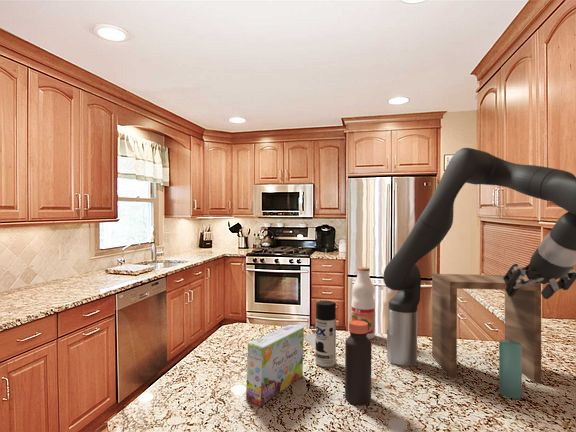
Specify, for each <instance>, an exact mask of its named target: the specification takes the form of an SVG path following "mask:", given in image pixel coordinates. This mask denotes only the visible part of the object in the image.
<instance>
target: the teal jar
mask: <svg viewBox="0 0 576 432" xmlns="http://www.w3.org/2000/svg"><path fill="white" fill-rule="evenodd" d="M498 345H499V346H498V349H499V350H498V351H499V352H498V356H499V357H498V358H499V361H498V368H499V369H498V375H499V376H498V377H499V378H498V381H499V384H498V386H499V388H498V389H499V392H500V393H499V394H500V395H501V394H502V395H501V396H503V397H505V396H506V397H505V398H508V397H509V398H508V399H511V398H513V399H512V400H521V399H522V398H523V395H522V394H523V374H522V344H521V343H519V342H516V341H512V340H505V339H499V342H498Z"/></svg>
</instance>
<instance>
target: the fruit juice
mask: <svg viewBox="0 0 576 432" xmlns="http://www.w3.org/2000/svg"><path fill="white" fill-rule="evenodd" d="M351 291H352V299H351V321H354V320H359V321H364V322H367V323H368V334H367V338H368V339H369V340H372V339H374V338H375V335H376V302H375V301H376V300H375V298H374V295H375V292H376V290H375V286H374V284H373V282H372V279H371V276H370V267H368V266H367V267H366V266H359V267H357V276H356V279H355V281H354V283H353V285H352V287H351Z"/></svg>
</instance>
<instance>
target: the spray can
mask: <svg viewBox="0 0 576 432" xmlns="http://www.w3.org/2000/svg"><path fill="white" fill-rule="evenodd" d="M315 328H316V349H315V354H314V355H315V364H316V366H319V367H321V368H333V367H335V365H336V358H337V357H336V349H337V348H336V347H337V346H336V344H337V343H336V341H337V303H336V302H335V301H333V300H332V301H331V300H320V301H316V303H315Z"/></svg>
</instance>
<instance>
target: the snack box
mask: <svg viewBox="0 0 576 432" xmlns="http://www.w3.org/2000/svg"><path fill="white" fill-rule="evenodd" d="M304 332H305V327H304V326H300V325H299V326H298V325H294V324H288V325H287V326H284V327H281V328H279V329H277V330H275V331H273V332H271V333H268V334H266V335H264V336H262V337H259V338H257V339H256V340H253V341H251V342H249V343H247V360H246V361H247V362H246V363H247V364H246V391H245V392H246V393H245V394H246V395H245V400H246V401H248V402H250V403H252V404H255V405H256V406H257V405H258V406H260V407H261V406H263V405H264V404H266V403H267V402H268V401H270V400H271V399H273V398H274V397H275V396H277V395H279V394H280V393H281V392H283V391H284V390H286V389H287V388H288V387H289V386H290V385H292V384H294V383H295V382H296V381H297V380H299V379H300V378H302V377H303V372H304V371H303V370H304V369H303V365H304V339H305V338H304V336H305V333H304Z"/></svg>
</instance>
